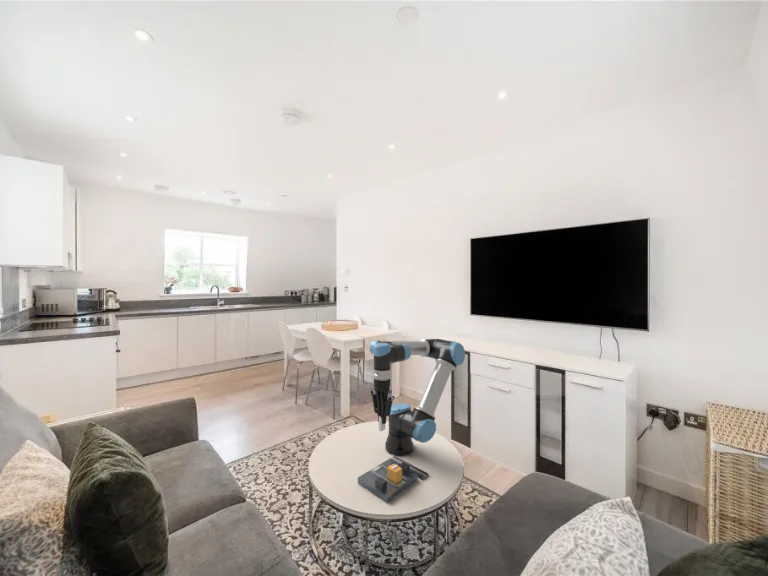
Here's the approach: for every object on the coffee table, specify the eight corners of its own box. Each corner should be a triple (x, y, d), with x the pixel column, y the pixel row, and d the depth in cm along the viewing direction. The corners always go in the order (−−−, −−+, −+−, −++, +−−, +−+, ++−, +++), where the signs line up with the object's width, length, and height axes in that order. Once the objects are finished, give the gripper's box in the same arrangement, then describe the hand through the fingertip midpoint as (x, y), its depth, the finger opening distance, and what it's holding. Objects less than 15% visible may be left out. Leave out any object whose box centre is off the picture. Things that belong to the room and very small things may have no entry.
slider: (393, 474, 142) (393, 462, 142) (401, 479, 138) (402, 466, 138) (387, 478, 139) (387, 466, 139) (395, 483, 135) (395, 470, 135)
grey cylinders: (394, 457, 161) (394, 455, 161) (429, 476, 146) (429, 473, 146) (388, 461, 157) (388, 458, 157) (423, 480, 142) (423, 477, 142)
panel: (388, 464, 155) (388, 453, 155) (417, 480, 142) (417, 468, 142) (357, 483, 140) (357, 470, 140) (387, 503, 128) (387, 489, 128)
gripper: (366, 376, 145) (366, 427, 145) (386, 383, 136) (386, 437, 136) (377, 373, 150) (377, 422, 151) (398, 379, 141) (398, 431, 142)
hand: (382, 429), depth 144 cm, fingers closed
